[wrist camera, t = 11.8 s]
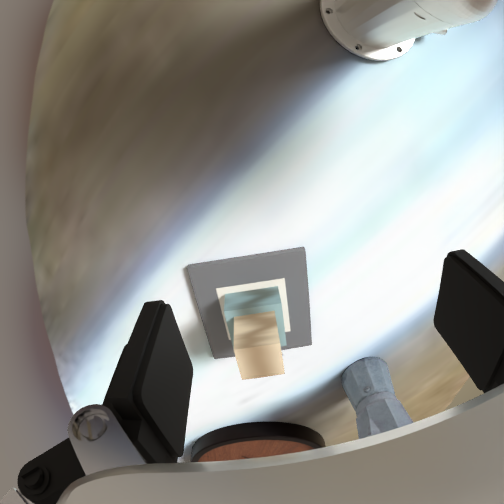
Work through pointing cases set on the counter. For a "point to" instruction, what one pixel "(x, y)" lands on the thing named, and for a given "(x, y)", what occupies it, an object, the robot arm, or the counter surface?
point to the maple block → (257, 345)
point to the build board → (250, 278)
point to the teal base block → (254, 307)
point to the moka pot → (373, 397)
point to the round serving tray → (255, 441)
